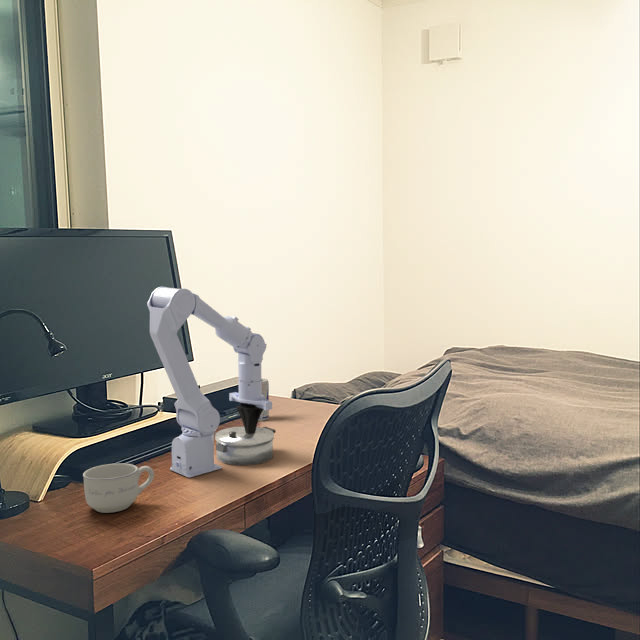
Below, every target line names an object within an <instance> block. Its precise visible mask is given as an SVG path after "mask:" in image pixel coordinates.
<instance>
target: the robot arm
mask: <svg viewBox="0 0 640 640" xmlns="http://www.w3.org/2000/svg"><path fill="white" fill-rule="evenodd" d="M146 306H147V308H148V311H149V336H150V338H151V341H152V342H153V345H154V347H155V349H156V352H157V354H158V356H159V359H160V361H161V363H162V365H163V368H164V370H165V373H166V375H167V378H168V379H169V382H170V384H171V387H172V389H173V391H174V393H175V396H176V398H177V400H176V401H175V402H174V407H175V411H176V413H175V414H176V415H175V417H176V421H177V424H178V425H179V426H180V427H181V431H182V433H181V434H179V436H177V437H175V438H173V439H172V441H171V466H170V469H169V470H170V471H173V472H175V473H177V474H180V475H182V476H185V477H186V478H193V477H197V476H200V475H203V474H207V473H210V472H215V471H216V470H221V469H222V465H219V464H216V463H215V443H214V441H215V434H216V430H217V429H218V428H219V425H220V422H221V416H220V412H219V411H218V410H217V409H216V408H215V407H214V406H213V405H212V403H211V401H210V400H209V399H208V398H207V397H206V396H205V394H204V393H202V392H201V390H200V388H199V385H198V382H197V380H196V378H195V375H194V373H193V370H192V368H191V366H190V363H189V361H188V358H187V355H186V353H185V351H184V348H183V345H182V343H181V341H180V339H179V337H178V331H179V330H180V328H181V327H182V326H183V325H184V324H185V322H186V321H187V320H188V318H190V317H191V316H192V315H193V316H195V317H196V318H198V319H199V320H200V321H202V322H204V323H206V324H208V326H210V327H212V328H214V330H215V334H216V337H218V338H219V339H221V340H222V341H224V342H225V343H227V344H228V345H230V346H231V347H232V348H233V351H234V352H235V353H237V357H238V358H237V359H238V360H237V364H238V369H237V370H238V373H237V375H238V376H237V377H238V392H236V391H234V392H229V393H228V397H229V398H228V399H229V401H230V402H238V403H240V404H239V405H237V406H236V410H237V412H238V414H239V416H240V418H241V421H242V424H243V426H244V428H245V432H246V433H247V434H252V433H255V431H256V427H258V423H259V421H258V420H259V417H260V415H261V413H262V411H263V410H269V411H271V410H273V401H271V400H270V399H269V400H267V399H265V398H264V395H262V389H261V378H262V362H263V360H264V353H265V351H266V349H267V343H266V342H265V339H264V337H263V336H262V335H261V334H259V333H255V332H252V331H251V330H252V328H250V327H249V326H245V325H244V324H242V323H241V322H239V318H238V317H237V316H232V315H231V316H229V315H227V316H223V315H222V314H220V313H219V312H218V311H216V309H214V308H212V306H210V305H209V304H208V303H207V302H206V301H204V300H203V299H202V298H201V297H200V296H199V295H198V294H196V293H194V292H193V291H191V290H189V289H187V288H175V287H168V286H163V285H162V286H159V287H157V288H155V289H154V290H153V291H152V292H151V295H150V296H149V299H148V301H147V303H146Z"/></svg>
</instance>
